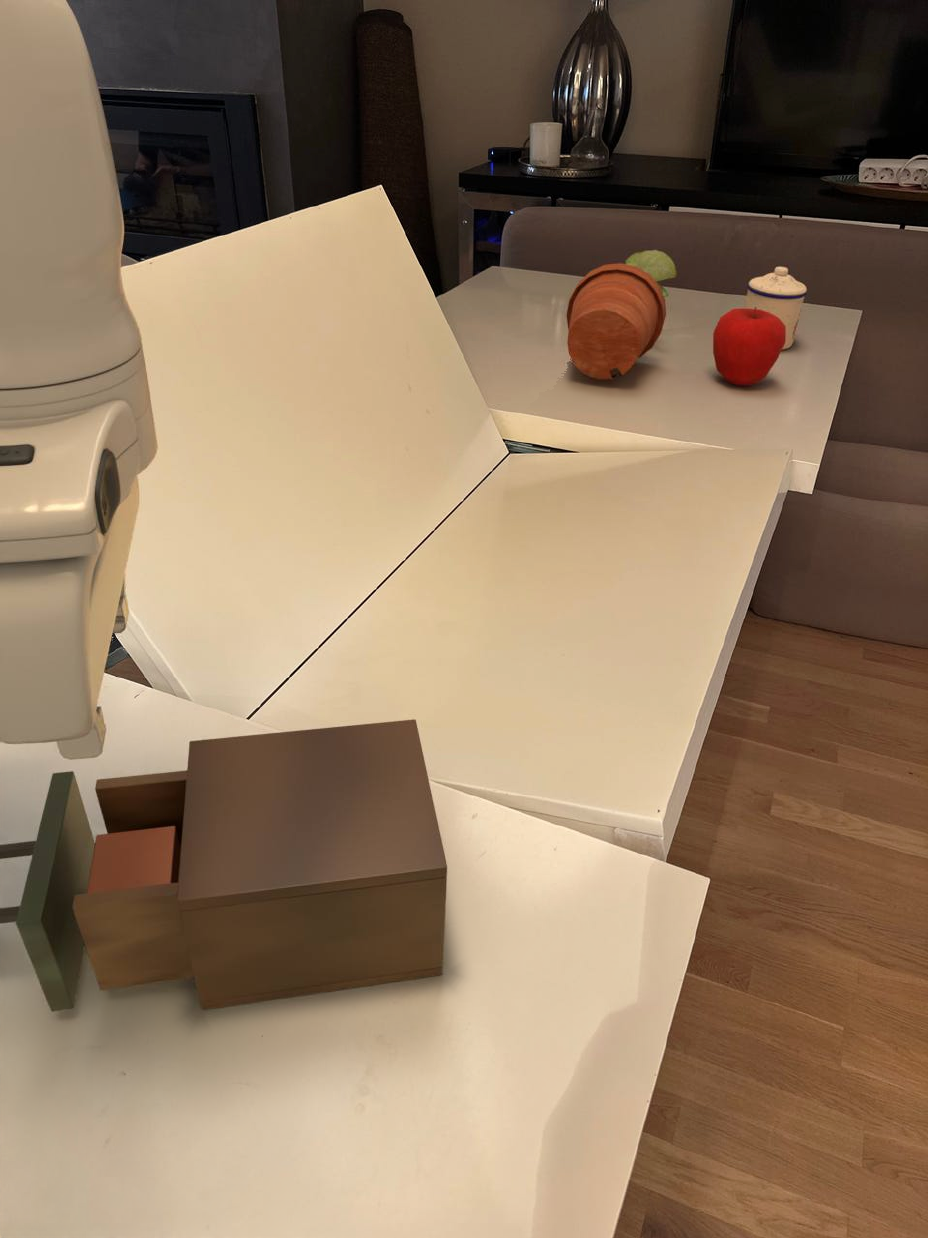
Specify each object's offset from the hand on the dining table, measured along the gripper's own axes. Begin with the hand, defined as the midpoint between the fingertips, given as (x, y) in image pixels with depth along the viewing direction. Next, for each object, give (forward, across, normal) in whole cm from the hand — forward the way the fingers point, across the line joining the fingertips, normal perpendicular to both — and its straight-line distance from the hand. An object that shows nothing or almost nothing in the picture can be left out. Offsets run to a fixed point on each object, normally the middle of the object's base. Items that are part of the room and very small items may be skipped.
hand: (99, 682), depth 45 cm
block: (+16, +1, 0) cm, 16 cm away
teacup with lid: (+17, -99, +87) cm, 133 cm away
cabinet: (+18, +1, +10) cm, 21 cm away
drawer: (+17, +1, -1) cm, 17 cm away
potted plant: (+17, -96, +61) cm, 115 cm away
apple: (+17, -81, +75) cm, 112 cm away
